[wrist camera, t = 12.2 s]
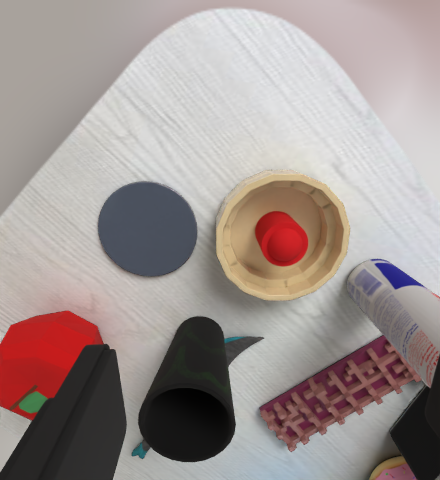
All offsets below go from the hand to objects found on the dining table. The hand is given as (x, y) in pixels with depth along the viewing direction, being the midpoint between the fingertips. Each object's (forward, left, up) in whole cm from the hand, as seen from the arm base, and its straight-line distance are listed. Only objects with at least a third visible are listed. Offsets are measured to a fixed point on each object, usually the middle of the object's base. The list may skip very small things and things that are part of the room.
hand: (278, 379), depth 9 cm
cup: (+15, -3, -23) cm, 28 cm away
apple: (+15, -18, -24) cm, 34 cm away
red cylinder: (+2, +5, -23) cm, 23 cm away
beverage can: (+8, +16, -24) cm, 29 cm away
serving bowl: (+2, +5, -23) cm, 24 cm away
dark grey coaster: (+2, -8, -23) cm, 25 cm away
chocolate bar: (+23, +14, -23) cm, 36 cm away
